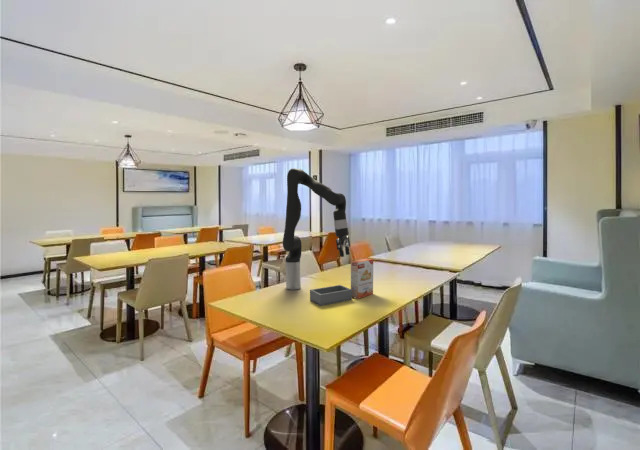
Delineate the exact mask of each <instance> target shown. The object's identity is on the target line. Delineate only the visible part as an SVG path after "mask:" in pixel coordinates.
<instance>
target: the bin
mask: <svg viewBox="0 0 640 450" xmlns="http://www.w3.org/2000/svg"><path fill="white" fill-rule="evenodd" d="M352 300H353V297H352V289H351V288H350V287H346V286H345V285H342V284H337V285H331V286H326V287H325V286H324V287H319V288H312V289H309V301H310V302H312V303H314V304H315V305H318V306H320V307H324V306H327V305H333V304H338V303H344V302H348V301H349V302H350V301H352Z"/></svg>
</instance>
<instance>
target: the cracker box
mask: <svg viewBox="0 0 640 450" xmlns="http://www.w3.org/2000/svg"><path fill="white" fill-rule="evenodd" d="M350 289H352V298H353V299H361V298H364V297H368V296H371V295H373V294H374V259H373V258H362V259H356V260H351V261H350Z"/></svg>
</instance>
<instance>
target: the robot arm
mask: <svg viewBox="0 0 640 450" xmlns="http://www.w3.org/2000/svg"><path fill="white" fill-rule="evenodd" d="M286 181H287V182H286V183H287V184H286V185H287V189H286V190H287V192H286V193H287V194H286V195H287V196H286V209H285V225H284V226H285V227H284V232H283V237H282V247H283V251H286V252H288V254H287V256H285V286H286V287H285V288H286V289H287V290H291V291H292V290H299V289H301V288H302V287H301V283H302V282H301V280H302V279H301V257H302V240H301V238H300V237H299V236H298V235H295V232H296V227H297V225H298V223H299V221H300V219H301V215H302V203H301V199H300V197H299V192H298V191H299V189H298V188H299V185H303V186H305V187H307V188H309V189H310V190H311V191H312V192H313V193H314V194H316V195H317V196H319V197H321V198H322V199H324V200H325V201H326V202H327V203H328V204H330V205H331V206H335V210H333V221H334V222H333V224H334V225H333V226H334V231H335V232H334V233H335V237H338V238H336V239H335V242H336V249H337V250H338V251H339V257H340V258H343V257H345V255H347V256H349V255H351V253H350V247H351V241H350V236H349V234H350V233H349V226H348V222H347V214H346V208H347V199H346V196H345V195H344V194H343V193H337V192H334V191H333V190H332V189H331V188H330V187H329V186H327V185H325V184H323V183H321V182H320V181H318V180H316V179H314V178H313V177H312V176H310V174H308V173H307V172H306V171H304V170H303V169H301V168H294V167H293V168H290V169H289V170H288V171H287V174H286ZM344 250H345V253H344Z"/></svg>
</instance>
